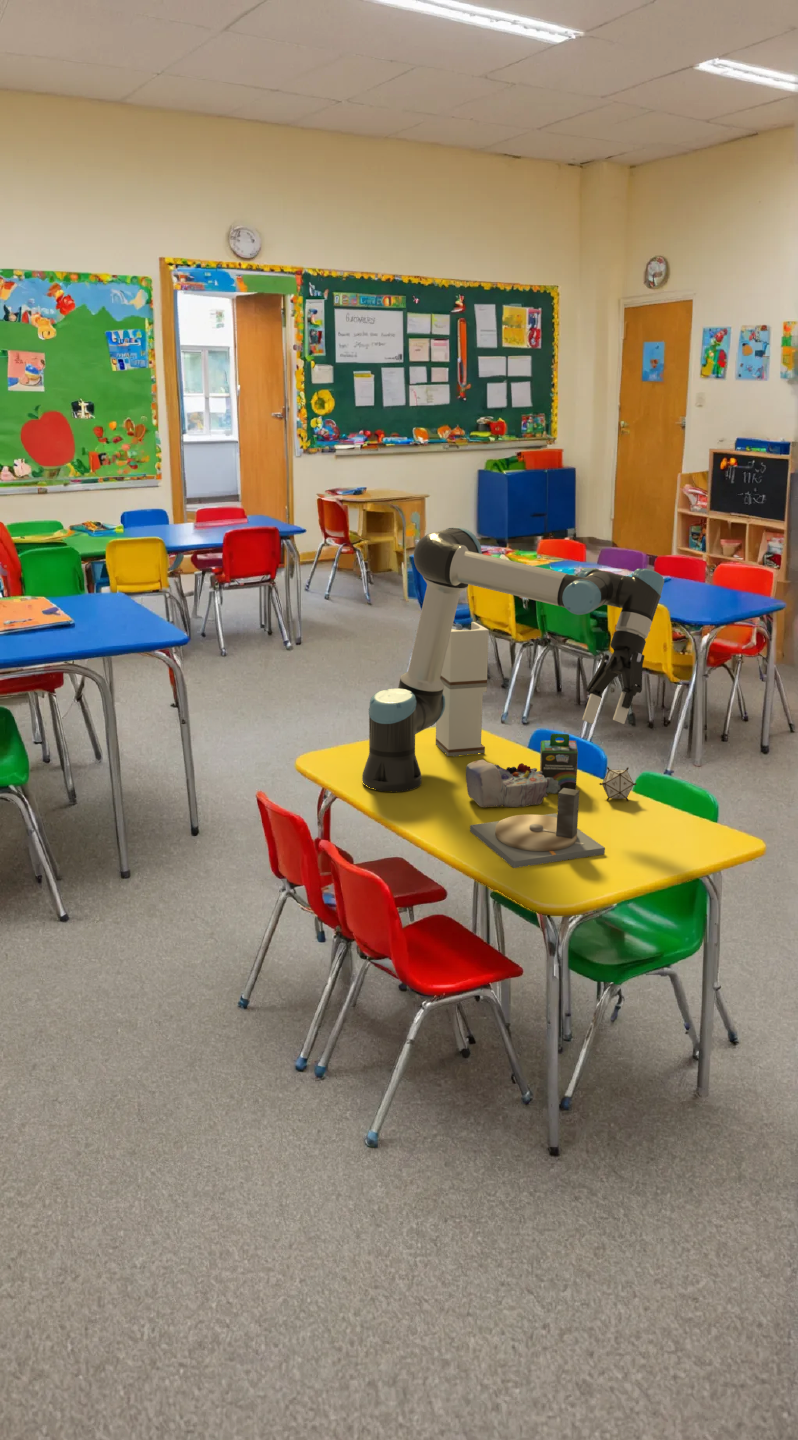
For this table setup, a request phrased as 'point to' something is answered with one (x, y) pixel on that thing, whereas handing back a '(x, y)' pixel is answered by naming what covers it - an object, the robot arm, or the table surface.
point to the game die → (617, 784)
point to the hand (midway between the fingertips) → (602, 722)
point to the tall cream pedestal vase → (463, 691)
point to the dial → (543, 827)
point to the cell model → (505, 785)
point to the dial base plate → (525, 857)
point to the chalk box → (559, 762)
